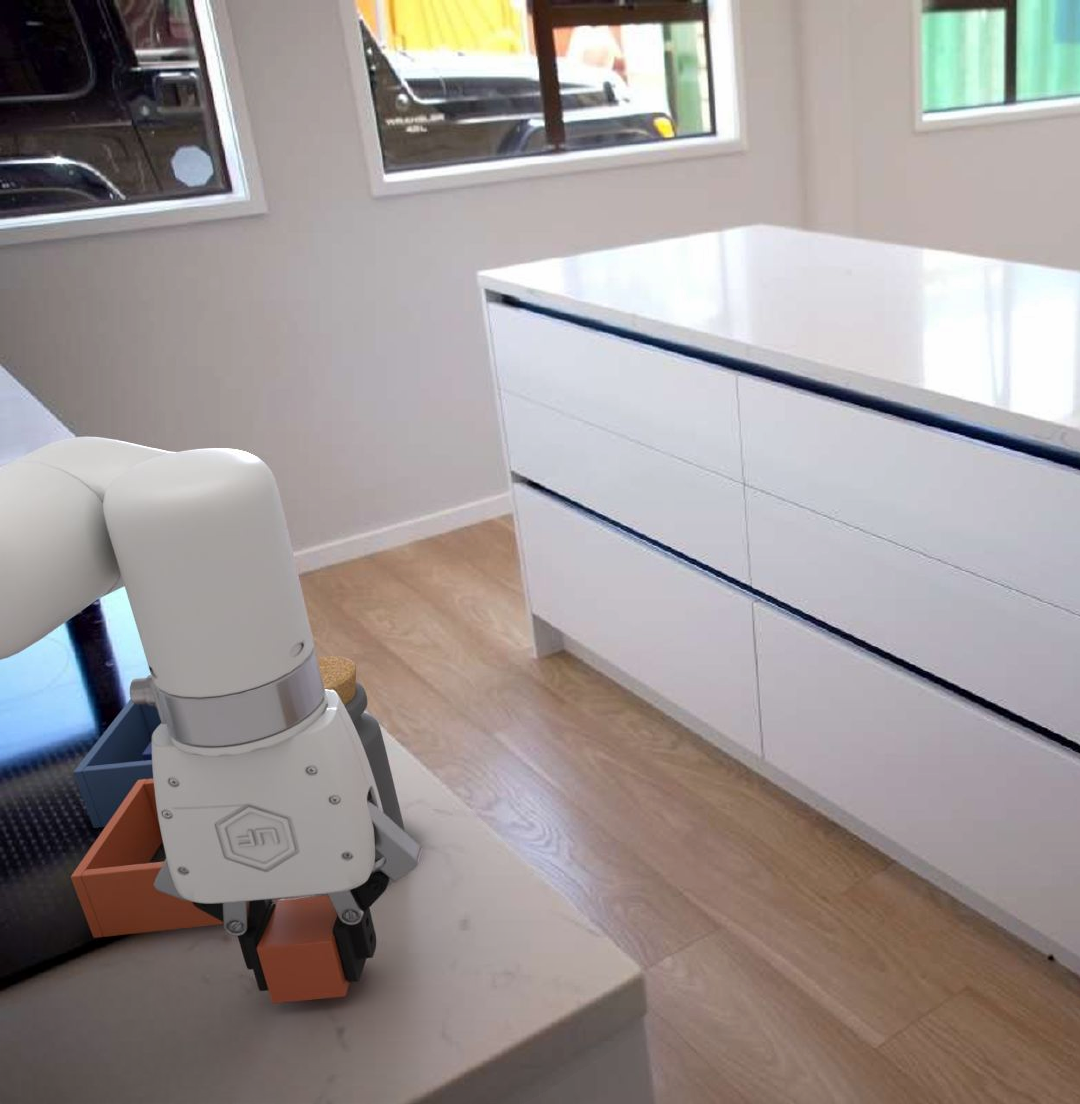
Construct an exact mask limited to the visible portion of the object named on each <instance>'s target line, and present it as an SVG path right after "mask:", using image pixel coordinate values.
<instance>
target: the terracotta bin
mask: <svg viewBox="0 0 1080 1104" xmlns="http://www.w3.org/2000/svg"><path fill="white" fill-rule="evenodd" d="M162 843H163V840H162V835H161V830H160V824H159V819H158V813H157V806H156V798H155V789H154V780H153V779H142V780H138V781H137V782H136V784H135V785H134V786H133V788H132V789H131V791H130V792H129V794H128V795H127V797H126V798H125V799H124V801H123V802H122V804H121V805H120V807H119V808H118V809H117V811H116V812H115V814H114V815H113V817H112V818H111V820H110V821H109V822H108V824H107V825H106V827H103V830H102V831H101V833H100V834H99V836H98V837H97V838H96V839H95V841H94V842H93V844H92V845H91V847H90V848H89V849H88V851H87V852H86V854H85V855H84V857H83V858H82V860H81V861H80V862H79V864H78V866H77V867H76V868H75V870H74V871H73V873H72V874H71V876H70V880H71V882H72V885H73V887H74V890H75V892H76V895H77V898H78V901H79V903H80V906H81V909H82V911H83V914H84V917H85V919H86V922H87V925H88V927H89V930H90V932H91V934H92V937H93V939H97V938H104V937H105V938H106V937H115V936H124V935H134V934H143V933H152V932H160V931H161V932H162V931H169V930H178V929H187V928H197V927H207V926H208V927H209V926H215V925H224V922H222V921H220V920H218V919H217V918H215V917H213V916H211V915H209V914H207V913H206V912H204V911H202V910H200V909H198V908H197V907H195V906H194V904H193V903H192V901H189V900H188V901H185V900H182V899H179V898H176V897H173V896H171V895H168V894H165V893H162V892H160V891H158V890H156V888H155V887H154V881H155V879H156V877H157V875H158V873H159V871H160V869H161V867H162V865H163V863H164V861H158V862H157V861H156V862H151V860H152V859H153V857H154V855H155V854H156V852H158V851H157V850H158V849H159V847H160V846H161V844H162Z"/></svg>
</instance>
